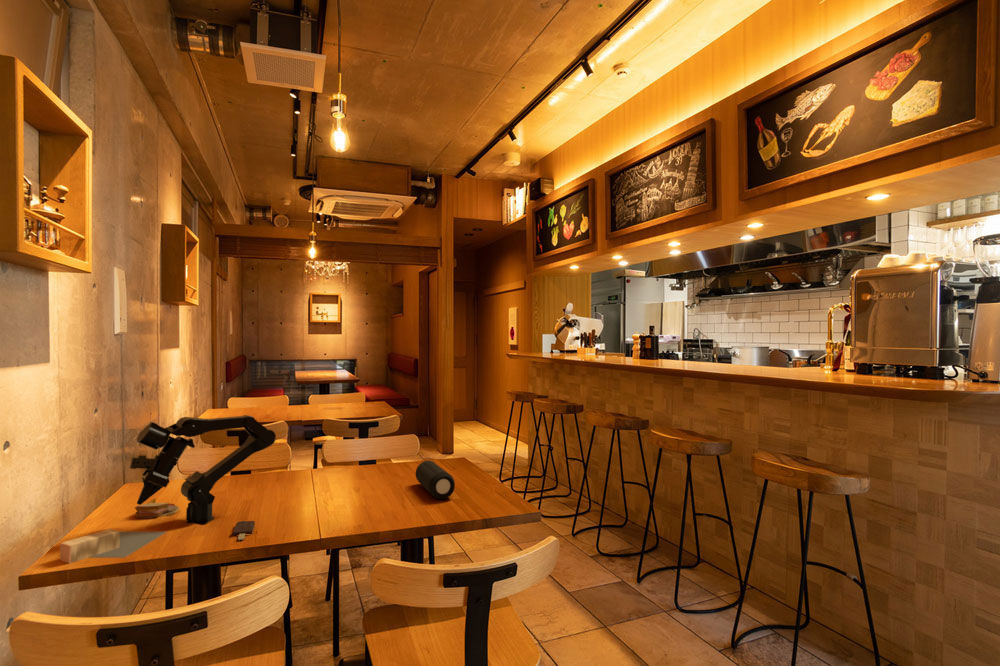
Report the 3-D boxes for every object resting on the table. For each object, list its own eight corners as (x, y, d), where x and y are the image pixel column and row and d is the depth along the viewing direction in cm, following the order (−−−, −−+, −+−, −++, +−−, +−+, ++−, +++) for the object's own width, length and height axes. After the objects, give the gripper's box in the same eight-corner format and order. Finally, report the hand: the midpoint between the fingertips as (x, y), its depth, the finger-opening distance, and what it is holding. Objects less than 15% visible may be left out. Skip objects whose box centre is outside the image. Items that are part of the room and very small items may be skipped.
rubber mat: (167, 533, 162) (167, 531, 162) (124, 559, 143) (124, 557, 143) (116, 533, 162) (116, 531, 162) (67, 559, 143) (67, 557, 143)
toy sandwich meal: (187, 509, 186) (187, 495, 186) (156, 522, 172) (156, 508, 172) (155, 507, 188) (156, 493, 188) (122, 520, 174) (122, 505, 175)
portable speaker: (456, 499, 200) (457, 472, 200) (431, 502, 196) (431, 475, 196) (437, 482, 224) (437, 458, 224) (413, 484, 220) (414, 460, 220)
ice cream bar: (250, 541, 158) (254, 524, 172) (250, 536, 158) (254, 519, 172) (230, 543, 156) (236, 526, 170) (230, 538, 156) (236, 521, 170)
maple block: (110, 528, 152) (60, 543, 141) (119, 531, 150) (69, 546, 139) (110, 544, 152) (59, 560, 141) (119, 547, 150) (69, 563, 139)
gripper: (141, 443, 171) (110, 490, 165) (144, 445, 156) (109, 497, 150) (176, 457, 176) (147, 504, 170) (182, 461, 161) (150, 512, 155)
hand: (138, 504), depth 161 cm, fingers closed
